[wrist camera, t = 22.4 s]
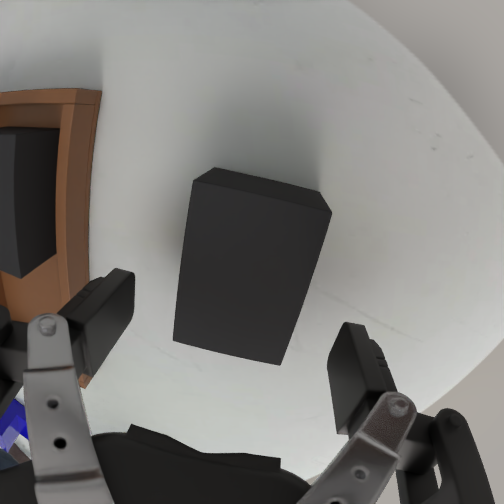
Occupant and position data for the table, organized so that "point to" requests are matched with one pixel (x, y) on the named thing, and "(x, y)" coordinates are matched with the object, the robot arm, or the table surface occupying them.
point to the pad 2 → (247, 263)
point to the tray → (57, 198)
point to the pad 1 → (27, 197)
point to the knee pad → (12, 457)
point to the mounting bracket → (12, 425)
